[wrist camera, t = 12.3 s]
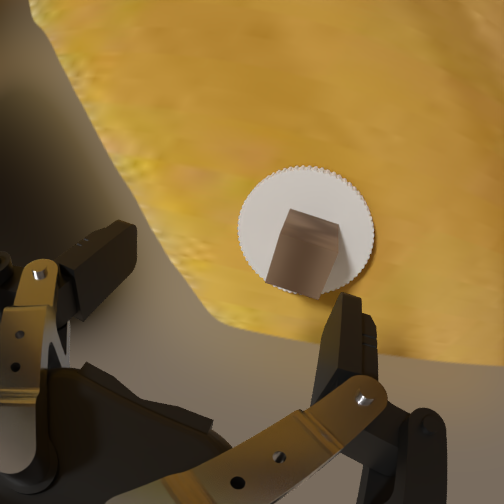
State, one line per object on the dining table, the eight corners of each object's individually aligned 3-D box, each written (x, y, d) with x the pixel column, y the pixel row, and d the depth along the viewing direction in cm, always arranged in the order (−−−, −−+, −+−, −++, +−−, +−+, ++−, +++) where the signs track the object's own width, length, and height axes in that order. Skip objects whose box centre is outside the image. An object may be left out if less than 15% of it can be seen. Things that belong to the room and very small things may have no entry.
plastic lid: (255, 149, 32) (248, 154, 29) (388, 184, 30) (392, 191, 28) (235, 264, 39) (229, 275, 36) (348, 295, 37) (349, 308, 35)
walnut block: (338, 224, 31) (338, 252, 25) (322, 266, 33) (318, 299, 28) (290, 208, 31) (279, 233, 26) (276, 251, 34) (264, 282, 28)
